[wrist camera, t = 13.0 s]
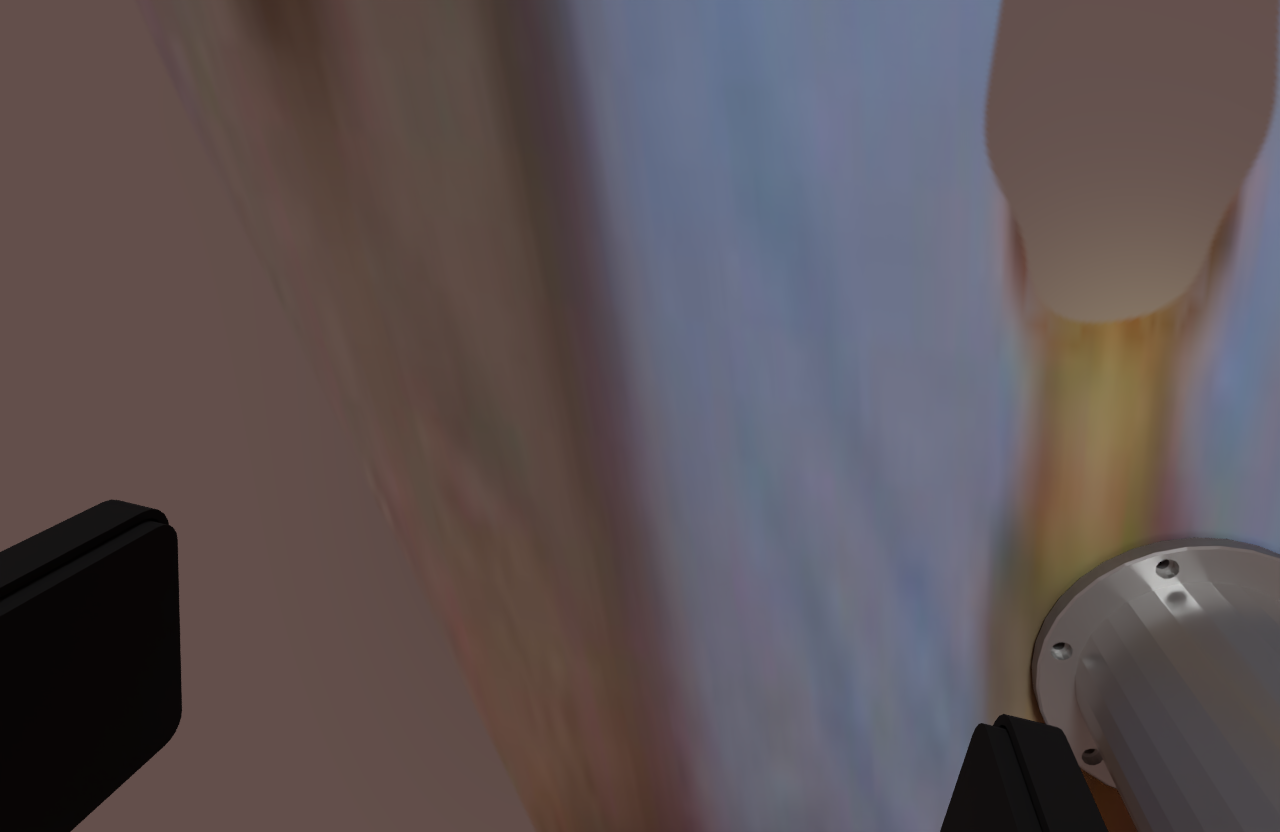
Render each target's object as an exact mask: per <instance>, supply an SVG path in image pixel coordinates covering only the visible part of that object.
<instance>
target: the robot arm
mask: <svg viewBox="0 0 1280 832" xmlns="http://www.w3.org/2000/svg"><path fill="white" fill-rule="evenodd" d="M1163 560H1164V562H1163V563H1161V564H1158V563H1159V562H1161V561H1163ZM1059 642H1060V643H1059ZM1057 643H1059V644H1057ZM1032 680H1033V690H1034V693H1035V697H1036V700H1037V703H1038V706H1039V710H1040V712H1041V714H1042V717H1043V719H1044V721H1045V723H1046V724H1043V723H1039V722H1035V721H1031V720H1026V719H1022V718H1018V717H1014V716H1010V715H1006V714H1003V715H1000V716H999V717H998V718H997V720H996V721H995V723H994V725H993V726H991V725H987V724H983V723H981V724H978V726H977V727H976V728H975V731H974V733H973V735H972V738H971V741H970V744H969V747H968V750H967V753H966V756H965V759H964V762H963V765H962V768H961V771H960V774H959V777H958V780H957V783H956V786H955V789H954V792H953V795H952V798H951V801H950V804H949V807H948V810H947V813H946V816H945V818H944V821H943V824H942V827H941V830H940V832H1108V830H1107V828H1106V826H1105V823H1104V821H1103V819H1102V817H1101V814H1100V812H1099V810H1098V808H1097V805H1096V803H1095V801H1094V799H1093V796H1092V794H1091V792H1090V790H1089V787H1088V785H1087V783H1086V780H1085V778H1084V776H1083V774H1082V771H1081V769H1082V770H1084V771H1085V772H1087V773H1089V774H1090V775H1092V776H1093V777H1095V778H1096V779H1098V780H1099V781H1101V782H1103V783H1104V784H1106V785H1108V786H1111V787H1113V788H1115V789H1117V790H1118V792H1119V794H1120V796H1121V798H1122V800H1123V802H1124V804H1125V806H1126V808H1127V810H1128V813H1129V815H1130V817H1131V819H1132V821H1133V823H1134V825H1135V827H1136V829H1137V831H1138V832H1280V554H1278V553H1275V552H1273V551H1270V550H1268V549H1265V548H1263V547H1260V546H1257V545H1253V544H1248V543H1243V542H1239V541H1234V540H1229V539H1216V538H1195V537H1194V538H1185V539H1176V540H1167V541H1161V542H1157V543H1153V544H1150V545H1146V546H1142V547H1138V548H1135V549H1131V550H1129V551H1127V552H1125V553H1123V554H1120V555H1118V556H1116V557H1114V558H1111V559H1109V560H1107V561H1105V562H1103V563H1102V564H1100V565H1099V566H1097V567H1096V568H1094V569H1093V570H1091V571H1090V572H1088V573H1087V574H1085V575H1084V576H1082V577H1081V578H1079V579H1078V580H1077V581H1076V582H1075V583H1074V584H1073V585H1072V586H1071V587H1070V588H1069V589H1068V590H1067V591H1066V592H1065V593H1064V594H1063V595H1062V596H1061V597H1060V598H1059V600H1058V601H1057V602H1056V604H1055V605H1054V607H1053V608H1052V610H1051V611H1050V613H1049V614H1048V615H1047V617H1046V618H1045V620H1044V623H1043V625H1042V628H1041V630H1040V632H1039V635H1038V637H1037V640H1036V642H1035V648H1034V654H1033V660H1032ZM181 698H182V695H181V657H180V617H179V579H178V540H177V533H176V531H175V530H174V528H173V527H171V526H170V525H169V523H168V520H167V518H166V516H165V514H164V513H162V512H161V511H159V510H157V509H152V508H148V507H144V506H140V505H136V504H132V503H127V502H124V501H119V500H109V501H105V502H102V503H100V504H98V505H96V506H94V507H92V508H90V509H88V510H86V511H84V512H82V513H80V514H78V515H75V516H74V517H72V518H70V519H67V520H65V521H63V522H61V523H59V524H57V525H55V526H53V527H51V528H49V529H47V530H45V531H43V532H41V533H39V534H36V535H34V536H32V537H30V538H28V539H26V540H24V541H22V542H20V543H18V544H16V545H14V546H12V547H10V548H8V549H6V550H4V551H2V552H0V832H70V831H72V830H73V829H74V828H75V827H76V826H77V825H78V824H79V823H80V822H81V821H82V820H84V819H85V818H86V817H87V816H88V815H89V814H90V813H91V812H92V811H93V810H95V809H96V808H97V807H98V806H99V805H100V804H101V803H102V802H103V801H104V800H106V799H107V798H108V797H109V796H110V795H111V794H112V793H113V792H114V791H115V790H116V789H118V788H119V787H120V786H121V785H122V784H123V783H124V782H125V781H126V780H128V779H129V778H130V777H131V776H132V775H133V774H134V773H135V772H136V771H137V770H138V769H140V768H141V767H142V766H143V765H144V764H145V763H146V762H147V761H148V760H149V759H151V758H152V757H153V756H154V755H155V754H156V753H157V752H158V751H159V750H160V749H162V748H163V746H165V745H166V744H167V743H168V741H169V740H170V739H171V738H172V736H173V735H174V733H175V732H176V729H177V727H178V725H179V722H180V719H181V713H182V699H181ZM1080 768H1081V769H1080Z"/></svg>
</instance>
